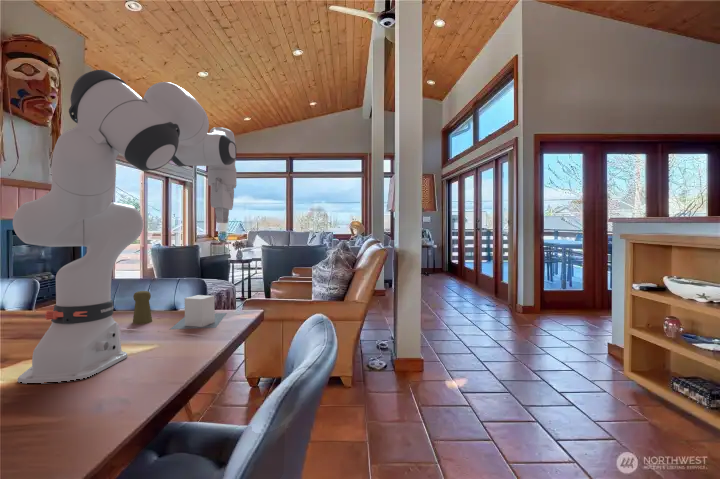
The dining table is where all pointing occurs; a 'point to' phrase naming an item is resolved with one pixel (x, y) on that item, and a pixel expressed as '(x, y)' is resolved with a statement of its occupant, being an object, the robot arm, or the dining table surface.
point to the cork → (142, 308)
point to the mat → (213, 325)
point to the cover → (199, 310)
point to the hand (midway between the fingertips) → (222, 223)
